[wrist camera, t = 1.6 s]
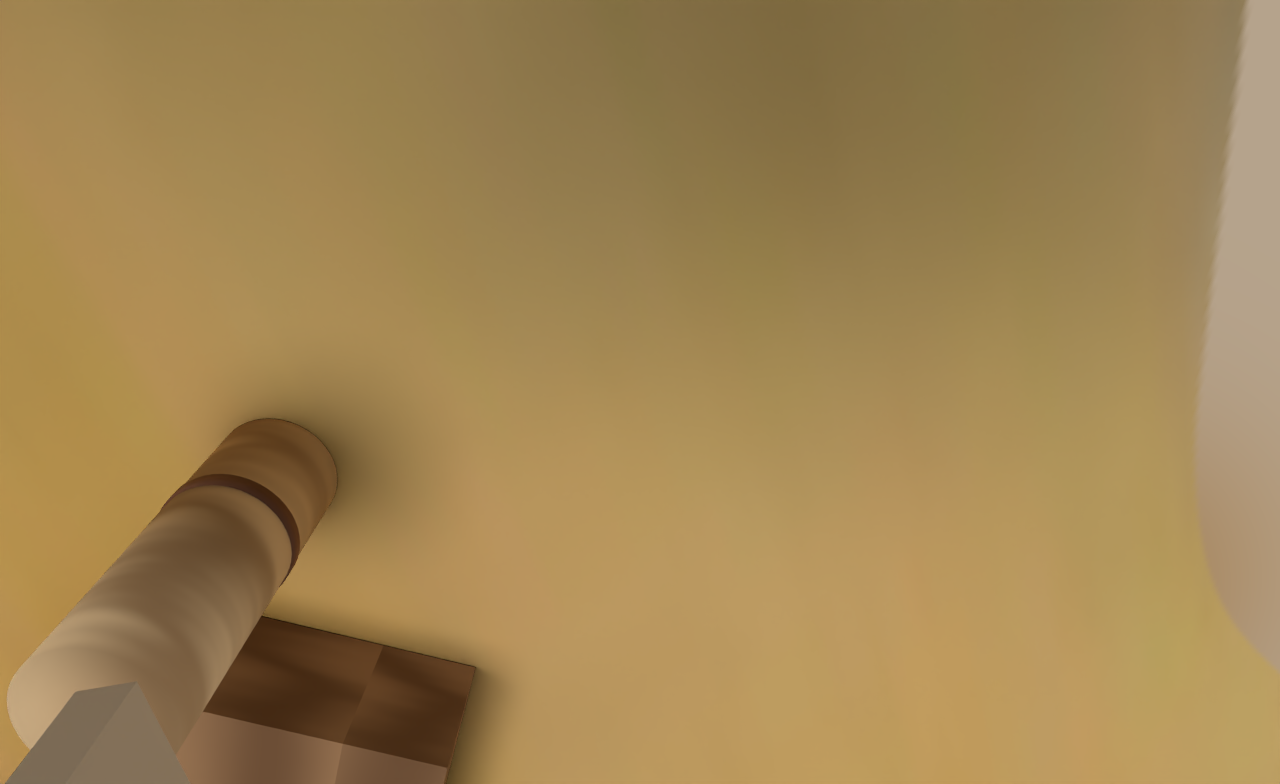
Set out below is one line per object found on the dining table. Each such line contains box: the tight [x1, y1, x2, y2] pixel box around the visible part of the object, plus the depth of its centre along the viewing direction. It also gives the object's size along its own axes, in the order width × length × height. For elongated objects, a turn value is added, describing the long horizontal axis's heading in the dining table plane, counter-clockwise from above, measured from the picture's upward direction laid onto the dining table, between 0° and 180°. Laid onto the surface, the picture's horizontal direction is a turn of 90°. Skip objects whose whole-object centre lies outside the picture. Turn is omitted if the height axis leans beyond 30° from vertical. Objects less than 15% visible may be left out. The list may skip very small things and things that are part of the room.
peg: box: [7, 419, 337, 755], centre depth 30 cm, size 4×4×12 cm
